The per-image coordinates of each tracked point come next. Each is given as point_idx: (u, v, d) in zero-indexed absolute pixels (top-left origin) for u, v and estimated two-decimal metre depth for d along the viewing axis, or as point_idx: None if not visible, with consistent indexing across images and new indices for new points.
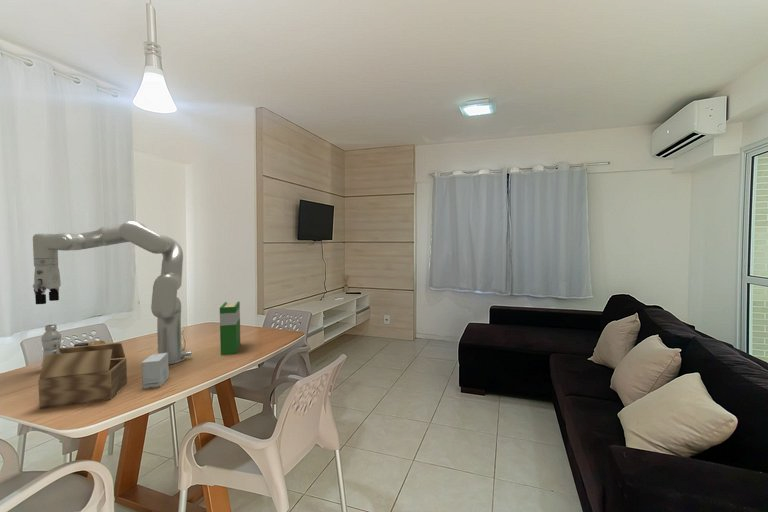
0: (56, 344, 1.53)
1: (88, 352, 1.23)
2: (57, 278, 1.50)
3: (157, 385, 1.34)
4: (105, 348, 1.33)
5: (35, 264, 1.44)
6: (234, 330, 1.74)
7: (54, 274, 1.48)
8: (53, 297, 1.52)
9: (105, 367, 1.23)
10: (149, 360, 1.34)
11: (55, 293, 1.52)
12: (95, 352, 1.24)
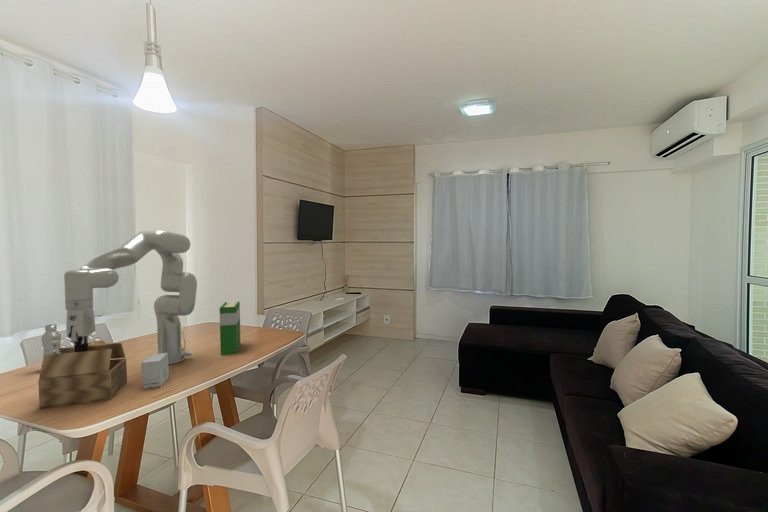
0: (56, 344, 1.53)
1: (88, 352, 1.23)
2: (92, 322, 1.26)
3: (157, 385, 1.34)
4: (105, 348, 1.33)
5: (67, 307, 1.20)
6: (234, 330, 1.74)
7: (89, 318, 1.24)
8: None
9: (104, 367, 1.22)
10: (149, 360, 1.34)
11: None
12: (95, 352, 1.23)
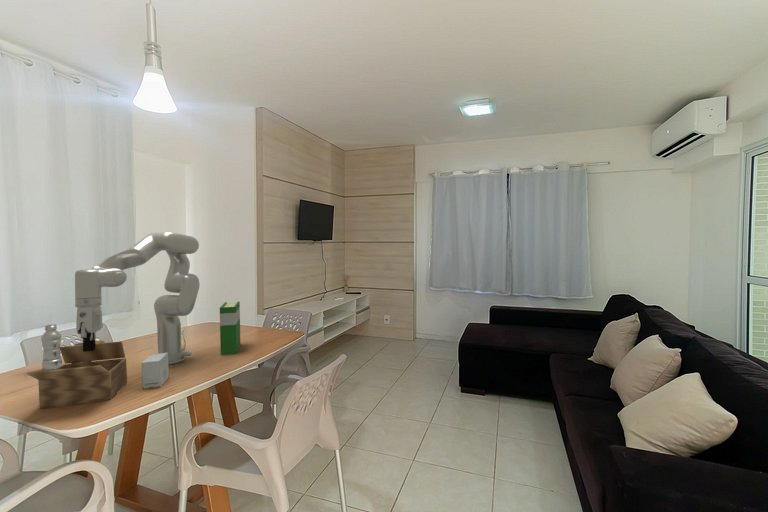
0: (56, 344, 1.53)
1: (76, 369, 1.15)
2: (100, 319, 1.32)
3: (157, 385, 1.34)
4: (105, 347, 1.33)
5: (77, 305, 1.26)
6: (234, 330, 1.74)
7: (97, 315, 1.30)
8: None
9: (103, 372, 1.21)
10: (149, 360, 1.34)
11: None
12: (84, 368, 1.15)
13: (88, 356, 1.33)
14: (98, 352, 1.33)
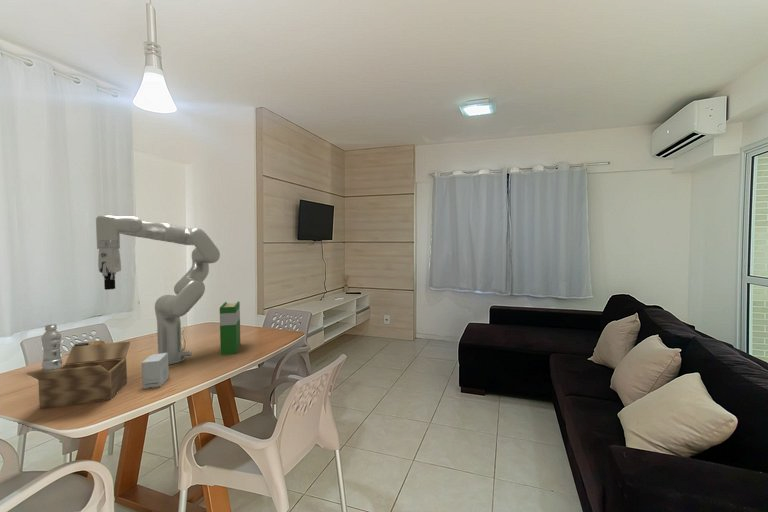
0: (56, 344, 1.53)
1: (76, 369, 1.15)
2: (118, 262, 1.46)
3: (157, 385, 1.34)
4: (113, 346, 1.40)
5: (99, 246, 1.40)
6: (234, 330, 1.74)
7: (116, 257, 1.44)
8: None
9: (103, 372, 1.21)
10: (149, 360, 1.34)
11: None
12: (84, 368, 1.15)
13: (91, 356, 1.36)
14: (103, 351, 1.38)
